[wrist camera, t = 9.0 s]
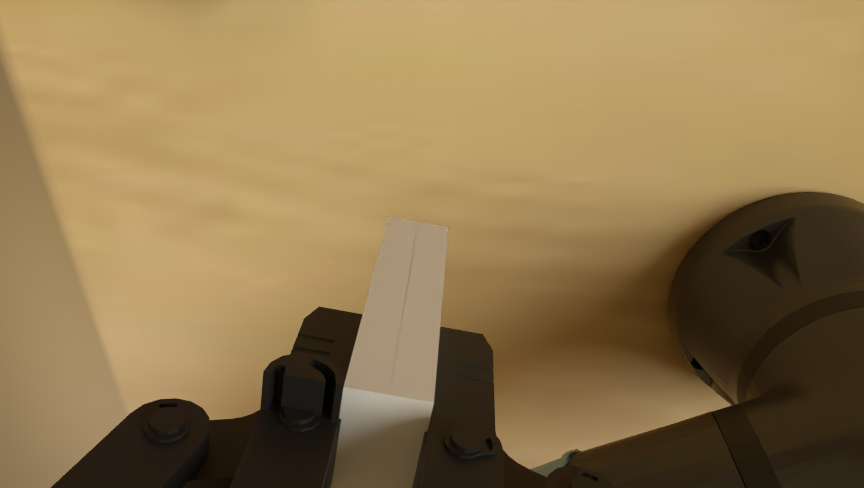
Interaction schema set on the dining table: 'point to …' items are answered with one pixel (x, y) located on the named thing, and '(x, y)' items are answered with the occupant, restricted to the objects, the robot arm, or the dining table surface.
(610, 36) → the dining table surface
